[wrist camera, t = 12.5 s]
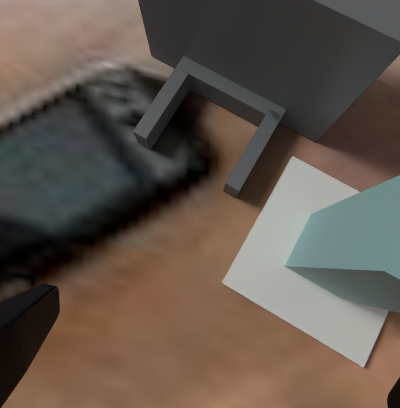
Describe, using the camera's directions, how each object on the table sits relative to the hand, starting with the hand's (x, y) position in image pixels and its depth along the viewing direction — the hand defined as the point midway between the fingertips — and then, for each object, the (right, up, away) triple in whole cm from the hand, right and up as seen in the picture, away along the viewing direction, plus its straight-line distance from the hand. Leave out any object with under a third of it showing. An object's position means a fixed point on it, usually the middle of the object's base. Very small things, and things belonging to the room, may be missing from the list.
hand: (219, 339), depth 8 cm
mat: (+8, 0, +13) cm, 15 cm away
